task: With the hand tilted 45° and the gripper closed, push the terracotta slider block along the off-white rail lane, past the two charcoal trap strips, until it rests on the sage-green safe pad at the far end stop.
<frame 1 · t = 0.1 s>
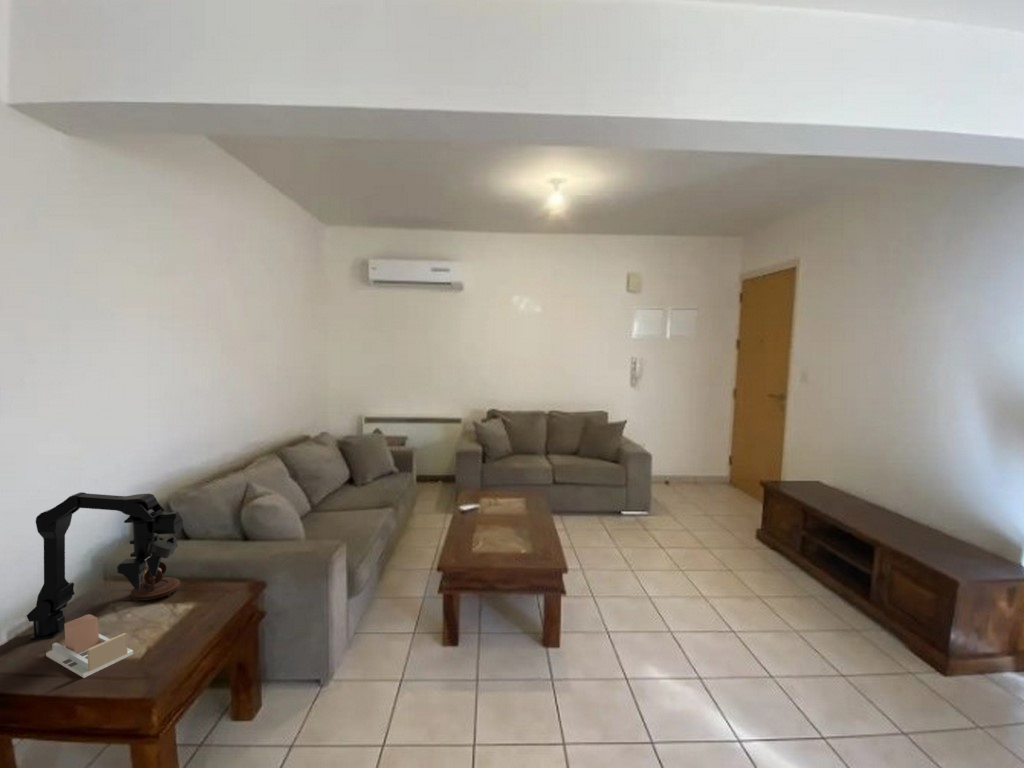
hand: (146, 582, 159), 15 cm above the table, tool pointing down, fingers open, 9 cm apart
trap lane: (90, 655, 145), on the table
brown upright piece: (156, 594, 181), on the table
slider block: (81, 633, 146), point 5 cm above the table, slide at 0.0 cm
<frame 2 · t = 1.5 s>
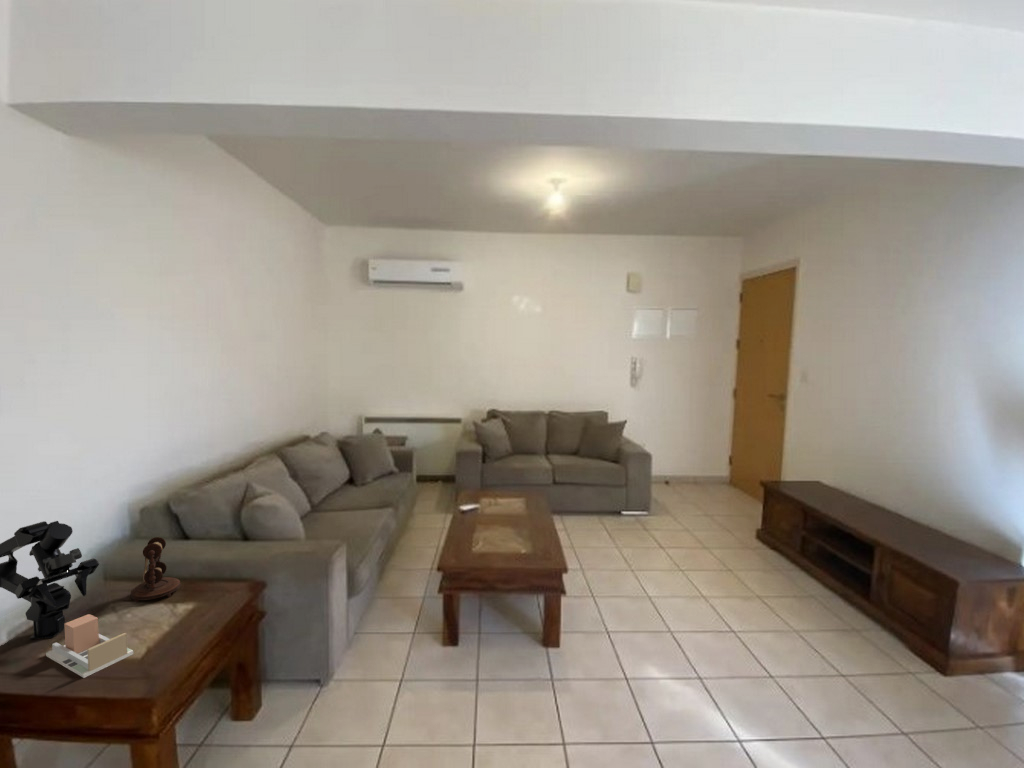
hand: (70, 600, 149), 13 cm above the table, tool tilted 45°, fingers open, 7 cm apart
nothing on the table moved.
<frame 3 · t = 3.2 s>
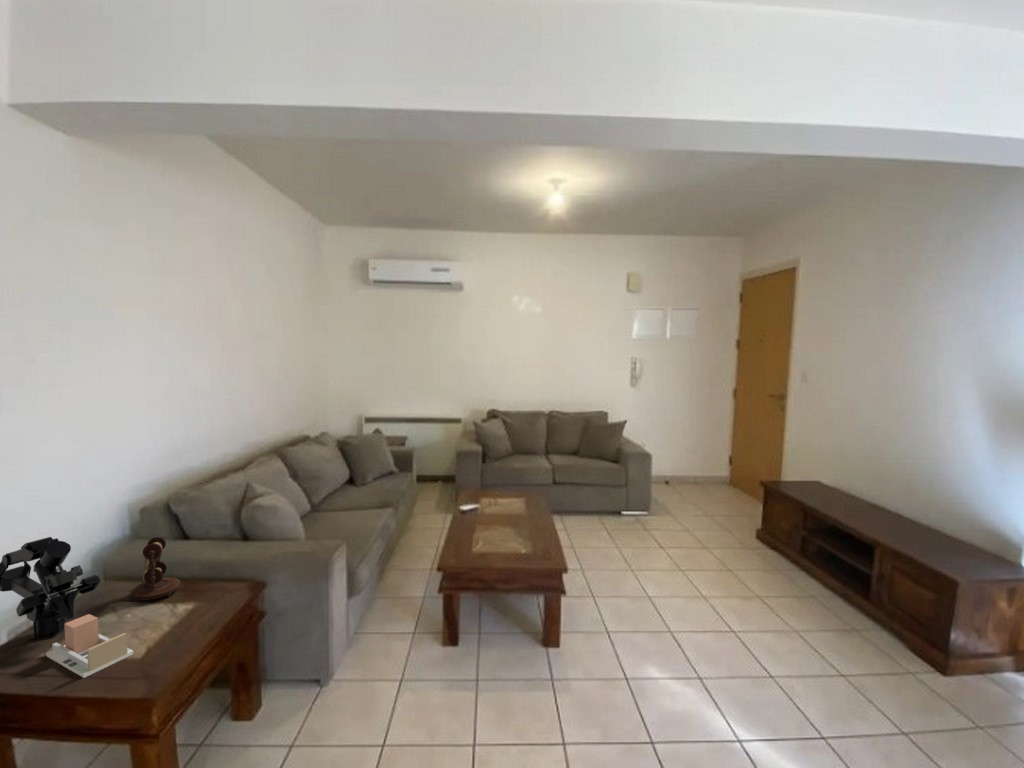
hand: (71, 618, 149), 8 cm above the table, tool tilted 45°, fingers closed
nothing on the table moved.
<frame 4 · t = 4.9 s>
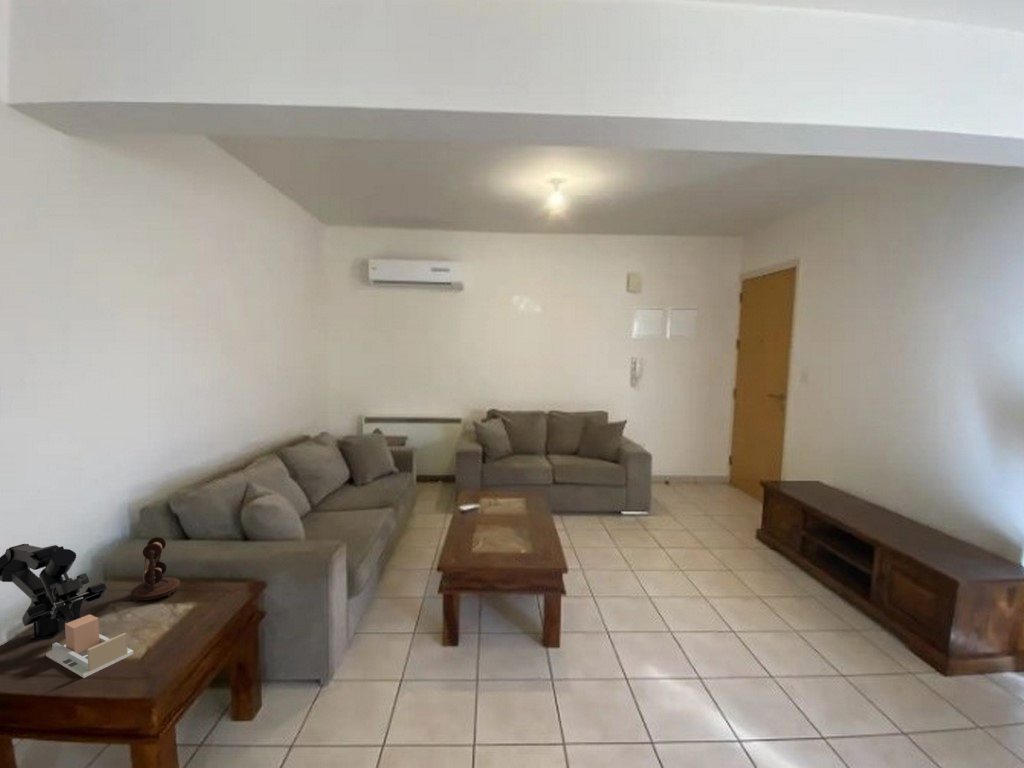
hand: (77, 627, 147), 7 cm above the table, tool tilted 45°, fingers closed, pressing on slider block
slider block: (82, 634, 146), point 5 cm above the table, slide at 0.4 cm, touching gripper
everything else where it was.
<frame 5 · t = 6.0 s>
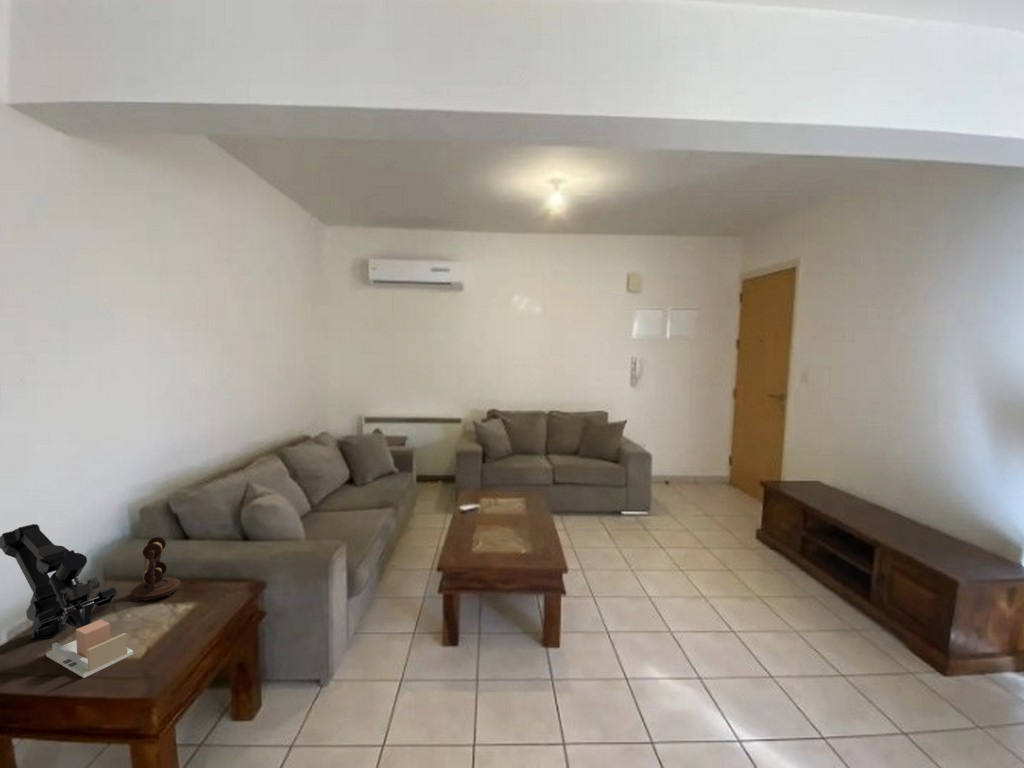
hand: (88, 632, 145), 7 cm above the table, tool tilted 45°, fingers closed, pressing on slider block
slider block: (93, 639, 143), point 5 cm above the table, slide at 6.6 cm, touching gripper
everything else where it was.
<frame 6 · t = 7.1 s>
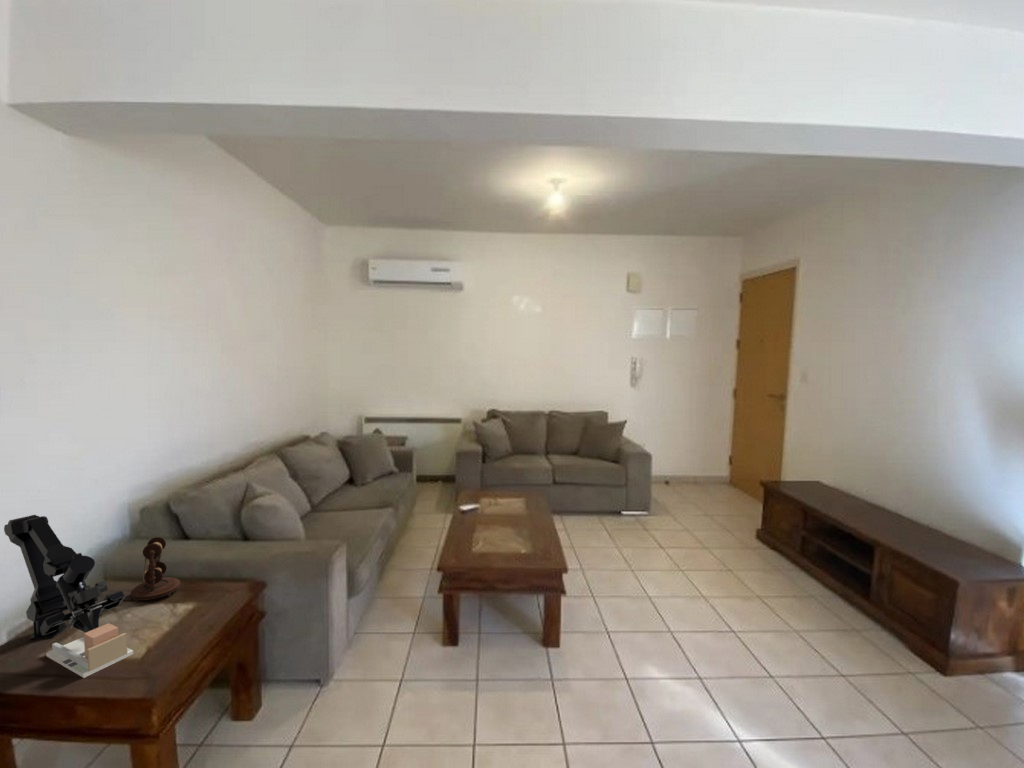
hand: (96, 636, 143), 7 cm above the table, tool tilted 45°, fingers closed, pressing on slider block
slider block: (101, 643, 141), point 5 cm above the table, slide at 11.0 cm, touching gripper
everything else where it was.
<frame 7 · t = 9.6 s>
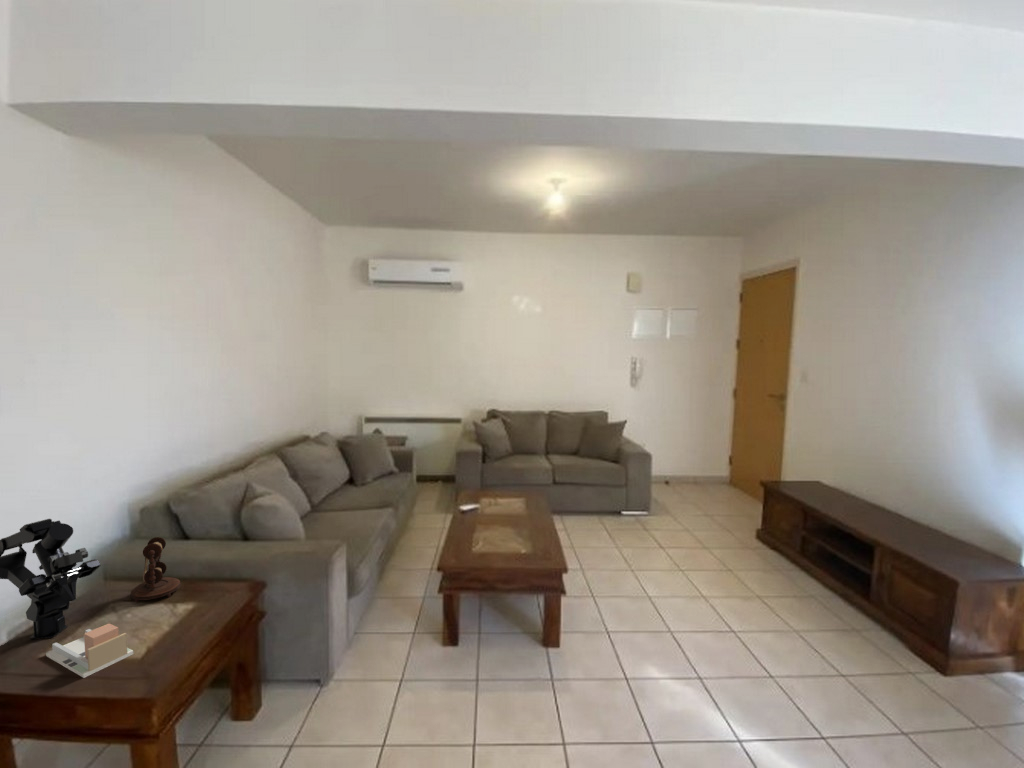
hand: (73, 600, 149), 14 cm above the table, tool tilted 40°, fingers closed
slider block: (102, 644, 141), point 5 cm above the table, slide at 11.2 cm
everything else where it was.
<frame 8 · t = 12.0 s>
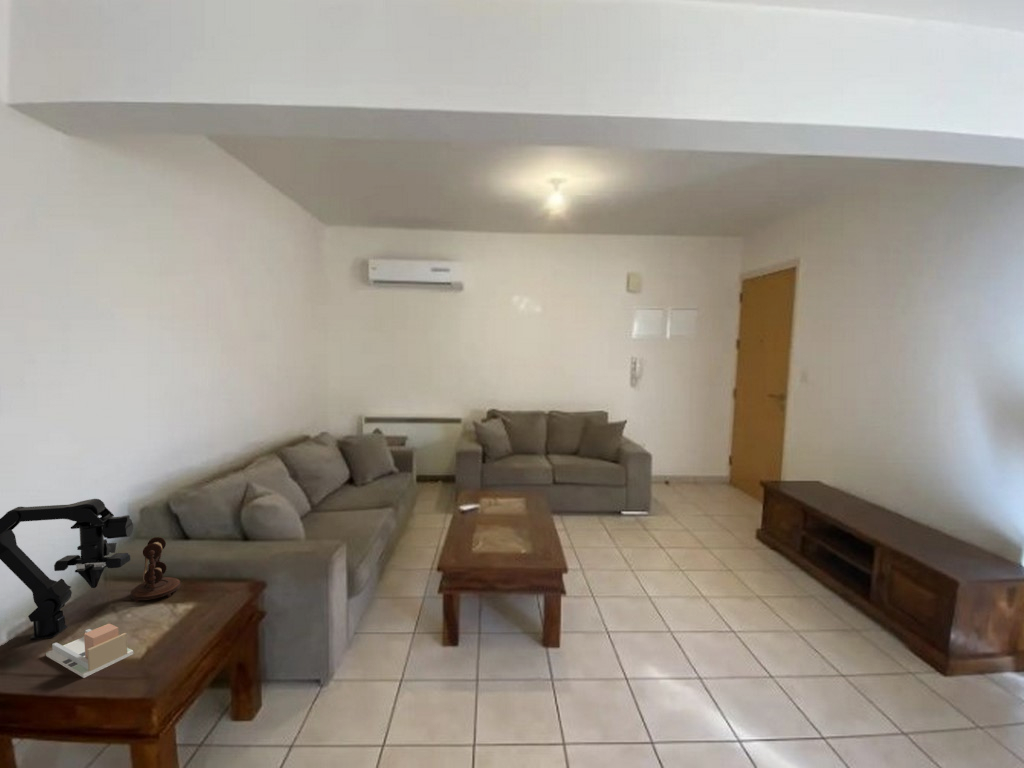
hand: (94, 587, 159), 13 cm above the table, tool pointing down, fingers closed
nothing on the table moved.
at the end: slider block slide at 11.2 cm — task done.
